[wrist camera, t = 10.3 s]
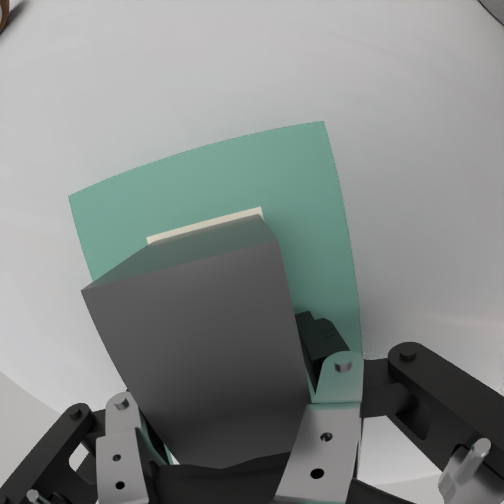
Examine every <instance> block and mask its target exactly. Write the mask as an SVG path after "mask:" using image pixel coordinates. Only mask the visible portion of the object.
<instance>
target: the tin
mask: <svg viewBox="0 0 504 504" xmlns="http://www.w3.org/2000/svg"><path fill="white" fill-rule="evenodd" d="M8 14H9V0H0V33H1V31H2V29H3V27H4V26H5V23H6V21H7V18H8Z"/></svg>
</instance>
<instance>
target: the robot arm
mask: <svg viewBox="0 0 504 504" xmlns="http://www.w3.org/2000/svg"><path fill="white" fill-rule="evenodd" d="M479 1H480V2H481V3H482V4H483V5H484V6H485V7H486V8H487V9H488V10H489V11H490V12H491V13H492V14H493V15H494V16H495V17H496V18H497V19H498V20H499V21H500V22H501V23H503V24H504V0H479ZM295 319H296V324H297V329H298V334H299V339H300V344H301V349H302V354H303V359H304V364H305V367H306V370H307V373H308V375H309V378H310V381H311V384H312V387H313V390H314V392H315V398H314V402H313V403H308V404H307V406H306V408H305V411H304V414H303V418H302V421H301V424H300V427H299V431H298V434H297V437H296V440H295V443H294V446H293V449H292V452H285V453H280V454H275V455H270V456H264V457H258V458H254V459H252V460H249V461H246V462H243V463H240V464H237V465H233V466H230V467H227V468H223V469H218V468H210V467H203V466H197V465H191V464H182V465H174V464H173V461H172V458H171V455H170V452H169V450H168V448H167V447H166V446H165V444H164V443H163V442H162V440H161V439H160V437H159V436H158V435H157V433H156V432H155V430H154V429H153V428H152V426H151V425H150V423H149V422H148V420H147V419H146V417H145V416H144V414H143V413H142V411H141V410H140V408H139V406H138V405H137V403H136V402H135V400H134V398H133V397H132V395H131V393H130V392H129V390H128V388H127V390H126V392H122V393H119V394H116V395H115V396H113V397H112V398H111V399H109V401H108V402H107V404H106V409H103V410H99V411H95V412H92V411H91V409H90V408H89V406H88V405H87V404H85V403H78V404H75V405H72V406H71V407H69V408H68V409H67V410H66V411H65V412H64V413H63V414H62V415H61V417H60V418H59V419H58V420H57V421H56V422H55V423H54V424H53V426H52V427H51V428H50V429H49V430H48V432H47V433H46V434H45V435H44V436H43V437H42V438H41V440H40V441H39V442H38V443H37V444H36V446H35V447H34V448H33V449H32V450H31V451H30V453H29V454H28V455H27V456H26V457H25V459H24V460H23V461H22V462H21V463H20V465H19V466H18V467H17V468H16V470H15V471H14V472H13V473H12V474H11V476H10V477H9V478H8V479H7V481H6V482H5V483H4V484H3V486H2V487H1V488H0V504H95V503H96V501H97V500H98V501H99V504H415V503H413V502H410V501H407V500H404V499H402V498H399V497H397V496H394V495H391V494H389V493H386V492H384V491H382V490H380V489H377V488H375V487H373V486H371V485H368V484H366V483H364V482H362V481H360V480H358V479H357V478H358V471H359V463H360V453H361V445H362V436H363V426H364V418H368V417H377V416H385V415H386V416H387V417H388V418H389V419H390V420H391V421H392V422H393V423H394V424H395V425H396V426H397V427H398V428H399V429H400V430H401V431H402V432H403V433H404V434H405V435H406V436H407V437H408V438H409V439H410V440H411V441H412V442H413V443H414V444H415V445H416V446H417V447H418V448H419V449H420V450H421V451H422V452H423V453H424V454H425V455H426V456H427V457H428V458H429V459H430V460H431V461H432V462H433V463H434V464H435V465H436V466H437V467H438V468H439V469H440V470H441V471H442V472H443V473H442V474H441V476H440V478H439V482H438V488H439V491H440V493H441V495H442V496H443V499H444V503H445V504H500V503H501V502H502V501H503V500H504V396H502V395H501V394H499V393H498V392H496V391H494V390H493V389H491V388H490V387H488V386H487V385H485V384H483V383H482V382H480V381H479V380H477V379H476V378H474V377H472V376H471V375H469V374H468V373H466V372H465V371H463V370H461V369H460V368H458V367H457V366H455V365H453V364H452V363H450V362H449V361H447V360H445V359H444V358H442V357H441V356H439V355H437V354H436V353H434V352H433V351H431V350H429V349H428V348H426V347H425V346H423V345H421V344H419V343H415V342H405V343H401V344H398V345H396V346H394V347H393V348H392V349H391V350H390V351H389V353H388V358H384V359H377V360H364V359H363V357H362V356H361V355H360V354H359V353H357V352H353V351H351V350H350V349H349V347H348V346H347V344H346V343H345V341H344V339H343V338H342V336H341V335H340V334H339V332H338V330H337V329H336V327H335V326H334V324H333V323H332V322H331V321H329V320H327V319H325V318H321V319H317V320H314V318H313V316H312V314H311V313H310V311H309V310H308V311H305V312H301V313H297V314H295ZM80 442H81V444H82V445H83V446H84V447H85V448H86V449H87V450H88V451H89V453H88V455H87V456H86V458H85V459H84V460H83V462H82V463H81V465H80V466H79V467H78V469H77V470H76V472H75V471H74V470H73V469H72V468H71V467H70V465H69V458H70V456H71V454H72V453H73V452H74V450H75V449H76V448H77V447H78V445H79V444H80Z"/></svg>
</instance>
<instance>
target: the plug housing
mask: <svg viewBox="0 0 504 504" xmlns="http://www.w3.org/2000/svg"><path fill="white" fill-rule="evenodd" d="M81 293H82V295H83V298H84V300H85V303H86V305H87V308H88V310H89V313H90V315H91V317H92V320H93V322H94V324H95V326H96V329H97V331H98V333H99V335H100V337H101V339H102V341H103V343H104V346H105V348H106V350H107V352H108V354H109V356H110V357H111V359H112V361H113V363H114V365H115V367H116V369H117V371H118V373H119V374H120V376H121V378H122V380H123V381H124V383H125V385H126V387H127V388H128V390H129V392H130V393H131V395H132V397H133V398H134V400H135V402H136V403H137V405H138V406H139V408H140V410H141V411H142V413H143V414H144V416H145V417H146V419H147V420H148V422H149V423H150V425H151V426H152V428H153V429H154V430H155V432H156V433H157V435H158V436H159V437H160V439H161V440H162V442H163V443H164V444H165V446H166V447H167V448H168V450H169V451H170V452H171V453H172V455H173V456H174V457H175V459H176V460H177V461H178V462H179V464H180V465H182V464H191V465H197V466H203V467H210V468H218V469H223V468H227V467H230V466H233V465H237V464H240V463H243V462H246V461H249V460H252V459H254V458H258V457H264V456H270V455H275V454H280V453H285V452H292V449H293V446H294V443H295V440H296V437H297V434H298V431H299V427H300V424H301V421H302V418H303V414H304V411H305V408H306V406H307V404H308V403H312V401H311V395H310V390H309V385H308V379H307V374H306V369H305V364H304V359H303V354H302V349H301V344H300V339H299V334H298V329H297V324H296V319H295V314H294V310H293V305H292V300H291V296H290V291H289V286H288V282H287V277H286V273H285V268H284V264H283V259H282V255H281V251H280V246H279V242H278V239H277V238H276V237H275V235H274V234H273V233H272V231H271V230H270V229H269V227H268V226H267V225H266V223H265V222H264V220H263V219H262V218H261V216H260V215H259V214H255V215H251V216H247V217H243V218H239V219H235V220H231V221H227V222H223V223H220V224H216V225H212V226H208V227H204V228H201V229H197V230H193V231H190V232H186V233H182V234H179V235H175V236H172V237H168V238H164V239H161V240H157V241H154V242H152V243H150V244H149V245H147V246H145V247H144V248H142V249H141V250H139V251H138V252H136V253H135V254H133V255H132V256H130V257H129V258H127V259H126V260H124V261H123V262H121V263H120V264H118V265H117V266H115V267H114V268H112V269H111V270H109V271H108V272H107V273H105V274H104V275H102V276H101V277H99V278H98V279H96V280H95V281H94V282H92V283H91V284H89V285H88V286H87V287H85V288H84V289H82V290H81Z"/></svg>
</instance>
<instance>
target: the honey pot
mask: <svg viewBox="0 0 504 504" xmlns="http://www.w3.org/2000/svg"><path fill="white" fill-rule="evenodd" d="M499 394H501V395H502V396H504V383H503V385H502V387H501V389H500V391H499Z"/></svg>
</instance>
